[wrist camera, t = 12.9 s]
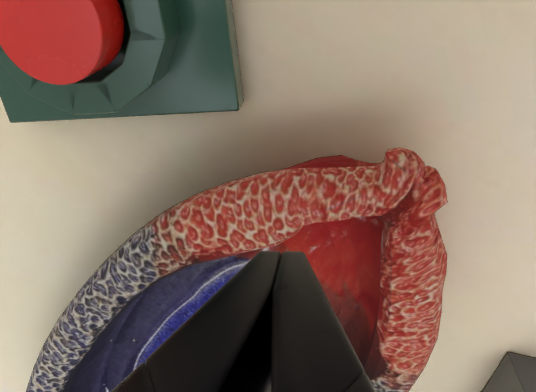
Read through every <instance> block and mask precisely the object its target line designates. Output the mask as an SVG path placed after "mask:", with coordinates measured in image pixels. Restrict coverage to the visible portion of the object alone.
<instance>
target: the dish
mask: <svg viewBox="0 0 536 392" xmlns="http://www.w3.org/2000/svg"><path fill="white" fill-rule="evenodd" d="M447 202H448V201H447V194H446V188H445V184H444V182H443V180H442V178H441V177H440V175H439V173H438V171H437V170H436V169H435V168H432V167H430V166H425V164H424V162H423V160H422V159H421V158H420V157H419V156H418V155H417V154H416V153H415V152H414V151H411V150H408V149H404V148H400V147H399V148H393V149H388V150H387V152H386V153H385V159H384V161H383V162H382V163H367V162H362V161H358V160H355V159H352V158H349V157H346V156H343V155H338V156H330V157H322V158H316V159H313V160H310V161H307V162H304V163H301V164H298V165H295V166H292V167H288V168H285V169H282V170H278V171H272V172H264V173H260V174H256V175H252V176H248V177H244V178H241V179H237V180H233V181H229V182H227V183H224V184H222V185H219V186H216V187H214V188H211V189H208V190H206V191H203V192H201V193H198V194H196V195H194V196H192V197H190V198H188V199H186V200H185V201H183V202H181V203H179V204H177V205H175V206H173V207H172V208H170V209H168V210H166V211H164V212H163V213H161V214H160V215H159V216H157V217H156V218H154V219H153V220H152V221H150V222H149V223H148V224H146V225H145V226H144V227H142V228H141V229H140V230H138V231H137V232H136V233H134V234H133V235H132V236H131V237H130V238H129V239H128V240H127V241H126V242H125V243H124V244H122V245H121V246H120V247H119V248H118V249H117V250H116V251H115V252H114V253H113V254H112V255H111V256H110V257H109V258H108V259H107V260H106V261H105V262H104V263H103V264H102V265H101V266H100V267H99V269H98V270H97V271H96V272H95V273H94V274H93V275H92V277H91V278H90V279H89V280H88V281H87V282H86V283H85V284H84V286H83V287H82V288H81V289H80V291H79V292H78V293H77V295H76V296H75V297H74V299H73V300H72V301H71V303H70V304H69V305H68V307H67V308H66V310H65V311H64V312H63V314H62V315H61V316H60V318H59V319H58V321H57V323H56V324H55V326H54V328H53V330H52V331H51V333H50V335H49V336H48V338H47V340H46V342H45V343H44V345H43V348H42V350H41V352H40V354H39V357H38V359H37V361H36V363H35V365H34V368H33V371H32V374H31V377H30V380H29V383H28V386H27V390H26V392H111V391H112V390H113V389H114V388H115V387H116V386H117V385H118V384H120V383H121V382H122V381H123V380H124V379H125V378H126V377H127V376H128V375H129V374H130V373H132V372H133V371H134V370H135V369H136V368H137V367H138V366H139V365H140V364H141V363H143V362H144V363H146V362H145V360H146V359H147V358H148V357H149V356H150V355H151V354H152V353H153V352H154V351H155V350H156V349H157V348H158V347H159V346H160V345H161V344H162V343H163V342H164V341H166V340H167V339H168V338H169V337H170V336H171V335H172V334H173V333H174V332H175V331H176V330H177V329H178V328H179V327H180V326H181V325H182V324H183V323H184V322H186V321H187V320H188V319H189V318H190V317H191V316H192V315H193V314H194V313H195V312H196V311H197V310H198V309H199V308H200V307H201V306H202V305H203V304H205V303H206V302H207V301H208V300H209V299H210V298H211V297H212V296H213V295H214V294H215V293H216V292H217V291H218V290H219V289H220V288H221V287H222V286H224V285H225V284H226V283H227V282H228V281H229V280H230V279H231V278H232V277H233V276H234V275H235V274H236V273H237V272H238V271H239V270H240V269H241V268H242V267H244V266H245V265H246V264H247V263H248V262H249V261H250V260H251V259H252V258H253V257H254V256H255V255H256V254H257V253H258V252H260V251H279V252H281V254H282V253H283V252H284V251H302V252H304V253H305V255H306V257H307V259H308V261H309V263H310V265H311V267H312V269H313V271H314V272H315V274H316V276H317V278H318V280H319V282H320V284H321V286H322V288H323V290H324V292H325V294H326V296H327V298H328V300H329V302H330V304H331V306H332V308H333V310H334V312H335V313H336V315H337V317H338V319H339V321H340V323H341V325H342V327H343V329H344V331H345V333H346V335H347V337H348V339H349V341H350V343H351V345H352V347H353V349H354V351H355V353H356V355H357V356H358V358H359V360H360V362H361V364H362V366H363V368H364V370H365V374H366V375H367V376H368V377H369V379H370V381H371V383H372V385H373V387H374V389H375V391H376V392H409V390H410V389H411V387H412V386H413V384H414V383H415V381H416V380H417V379H418V377H419V376H420V374H421V373H422V371H423V370H424V368H425V366H426V364H427V362H428V359H429V357H430V355H431V352H432V350H433V348H434V345H435V343H436V341H437V338H438V332H439V325H440V318H441V310H442V289H443V285H444V281H445V276H446V267H447V253H446V250H445V247H444V244H443V241H442V238H441V234H440V231H439V228H438V225H437V221H436V218H435V214H434V213H435V212H436V211H437V210H438V209H439V208H441V207H442V206H443V205H445V204H446V203H447Z"/></svg>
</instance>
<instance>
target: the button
mask: <svg viewBox="0 0 536 392" xmlns="http://www.w3.org/2000/svg"><path fill="white" fill-rule="evenodd" d="M123 38H124V19H123V14H122V10H121V7H120V5H119V2H118V0H0V45H1V47H2V48H3V50H4V51H5V53H6V54H7V56H8V57H9V58H10V59H11V60H12V61H13V62H14V63H15V64H16V65H17V66H18V67H19V68H20V69H21V70H23V71H24V72H25V73H27V74H28V75H30V76H32V77H34V78H35V79H38V80H40V81H43V82H46V83H50V84H56V85H66V84H72V83H75V82H78V81H80V80H82V79H84V78H86V77H88V76H90V75H91V74H93V73H95V72H97V71H99V70H101V69H103V68H104V67H106V66H107V65H109V64H110V63H111V62H112V61H113V60H114V59H115V57H116V56H117V55H118V53H119V51H120V49H121V46H122V43H123Z"/></svg>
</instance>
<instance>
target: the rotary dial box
mask: <svg viewBox="0 0 536 392" xmlns="http://www.w3.org/2000/svg"><path fill="white" fill-rule="evenodd" d="M482 392H536V358H533V357H528V356H524V355H520V354H515V353H511V352H507V354H506V356H505V357H504V359H503V360H502V362H501V363H500V365H499V366H498V368H497V370H496V371H495V373H494V374H493V376H492V377H491V379H490V380H489V382H488V383H487V385H486V387H485V388H484V390H483V391H482Z"/></svg>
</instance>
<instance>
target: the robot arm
mask: <svg viewBox="0 0 536 392" xmlns="http://www.w3.org/2000/svg"><path fill="white" fill-rule="evenodd" d="M145 362H146V363H144V362H143V363H141V364H140V365H139V366H138V367H137V368H136V369H135V370H134V371H133V372H132V373H130V374H129V375H128V376H127V377H126V378H125V379H124V380H123V381H122V382H121V383H120V384H118V385H117V386H116V387H115V388H114V389H113V390H112V391H111V392H376V391H375V389H374V387H373V385H372V383H371V381H370V379H369V377H368V376H367V375H366V374H365V370H364V368H363V366H362V364H361V362H360V360H359V358H358V356H357V355H356V353H355V351H354V349H353V347H352V345H351V343H350V341H349V339H348V337H347V335H346V333H345V331H344V329H343V327H342V325H341V323H340V321H339V319H338V317H337V315H336V313H335V312H334V310H333V308H332V306H331V304H330V302H329V300H328V298H327V296H326V294H325V292H324V290H323V288H322V286H321V284H320V282H319V280H318V278H317V276H316V274H315V272H314V271H313V269H312V267H311V265H310V263H309V261H308V259H307V257H306V255H305V253H304V252H302V251H284V252H283V253H282V254H281V252H279V251H260V252H258V253H257V254H256V255H255V256H254V257H253V258H252V259H251V260H250V261H249V262H248V263H247V264H246V265H245V266H244V267H242V268H241V269H240V270H239V271H238V272H237V273H236V274H235V275H234V276H233V277H232V278H231V279H230V280H229V281H228V282H227V283H226V284H225V285H224V286H222V287H221V288H220V289H219V290H218V291H217V292H216V293H215V294H214V295H213V296H212V297H211V298H210V299H209V300H208V301H207V302H206V303H205V304H203V305H202V306H201V307H200V308H199V309H198V310H197V311H196V312H195V313H194V314H193V315H192V316H191V317H190V318H189V319H188V320H187V321H186V322H184V323H183V324H182V325H181V326H180V327H179V328H178V329H177V330H176V331H175V332H174V333H173V334H172V335H171V336H170V337H169V338H168V339H167V340H166V341H164V342H163V343H162V344H161V345H160V346H159V347H158V348H157V349H156V350H155V351H154V352H153V353H152V354H151V355H150V356H149V357H148V358H147V359H146V360H145Z"/></svg>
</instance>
